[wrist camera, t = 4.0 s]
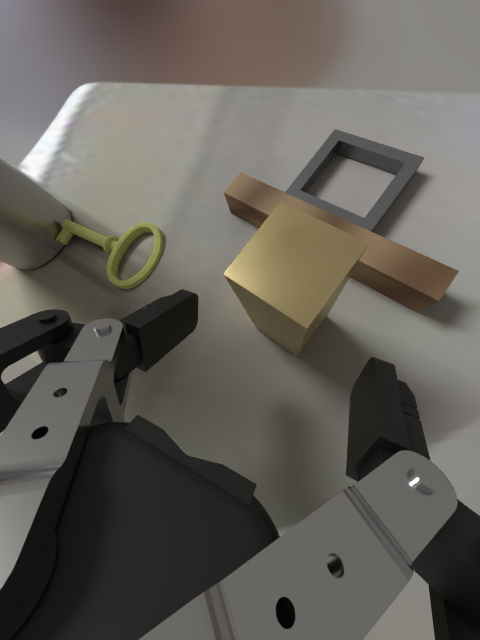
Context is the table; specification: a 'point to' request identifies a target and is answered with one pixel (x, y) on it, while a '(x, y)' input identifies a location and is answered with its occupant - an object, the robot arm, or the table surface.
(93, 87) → the table surface
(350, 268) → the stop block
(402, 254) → the brown square bar
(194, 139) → the table surface
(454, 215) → the table surface
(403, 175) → the keeper
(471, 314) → the table surface
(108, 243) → the key
